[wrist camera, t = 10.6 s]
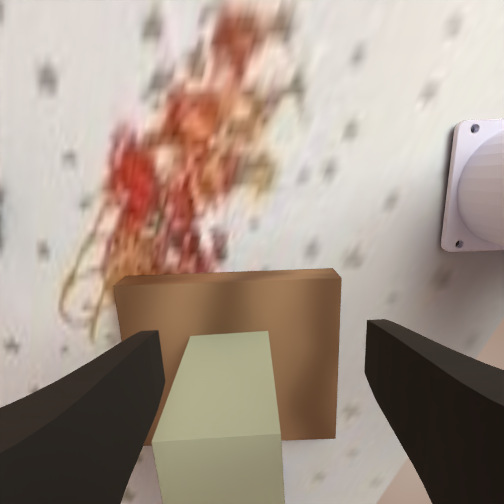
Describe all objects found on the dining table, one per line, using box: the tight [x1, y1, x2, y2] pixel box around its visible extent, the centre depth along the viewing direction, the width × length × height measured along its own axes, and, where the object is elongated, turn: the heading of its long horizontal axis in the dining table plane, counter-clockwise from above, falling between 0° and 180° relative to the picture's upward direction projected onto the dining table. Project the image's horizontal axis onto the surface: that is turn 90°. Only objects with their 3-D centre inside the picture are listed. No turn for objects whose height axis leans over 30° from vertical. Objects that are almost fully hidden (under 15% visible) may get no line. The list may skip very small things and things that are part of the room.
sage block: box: [152, 331, 285, 504], centre depth 16 cm, size 5×5×8 cm
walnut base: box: [113, 268, 341, 446], centre depth 21 cm, size 14×12×2 cm
